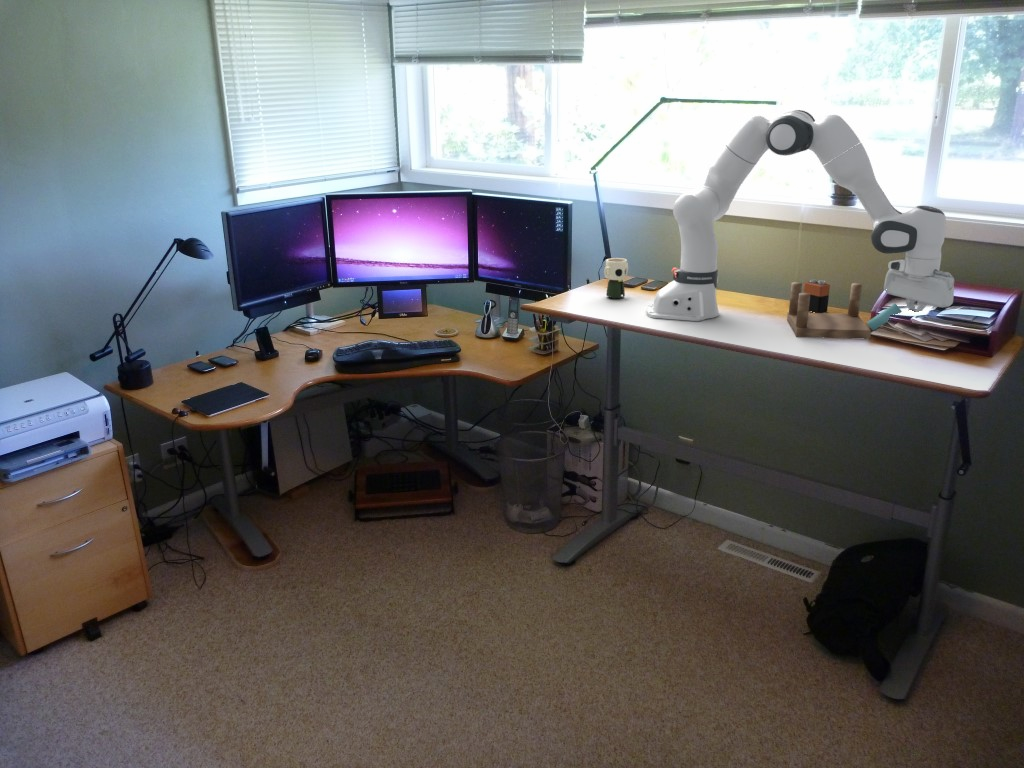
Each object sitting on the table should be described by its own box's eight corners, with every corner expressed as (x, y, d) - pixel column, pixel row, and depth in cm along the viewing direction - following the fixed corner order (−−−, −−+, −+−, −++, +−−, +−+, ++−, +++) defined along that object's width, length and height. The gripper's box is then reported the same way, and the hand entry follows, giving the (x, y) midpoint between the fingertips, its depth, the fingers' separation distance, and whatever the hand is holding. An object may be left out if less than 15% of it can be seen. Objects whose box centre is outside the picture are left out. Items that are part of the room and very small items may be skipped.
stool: (796, 336, 238) (800, 295, 234) (786, 320, 255) (790, 281, 251) (870, 339, 235) (875, 297, 231) (855, 322, 252) (860, 282, 248)
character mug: (611, 302, 280) (612, 263, 275) (596, 298, 285) (597, 260, 281) (634, 296, 286) (635, 259, 282) (619, 293, 291) (620, 256, 287)
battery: (818, 314, 261) (821, 283, 258) (800, 310, 266) (804, 279, 263) (827, 312, 263) (831, 281, 260) (810, 308, 268) (813, 277, 265)
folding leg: (867, 324, 234) (896, 304, 231) (865, 321, 237) (893, 302, 234) (874, 332, 235) (903, 312, 232) (871, 329, 238) (900, 310, 235)
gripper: (963, 272, 221) (954, 323, 225) (900, 259, 238) (893, 306, 243) (946, 275, 218) (938, 326, 223) (883, 261, 236) (877, 309, 241)
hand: (914, 315), depth 233 cm, fingers closed
